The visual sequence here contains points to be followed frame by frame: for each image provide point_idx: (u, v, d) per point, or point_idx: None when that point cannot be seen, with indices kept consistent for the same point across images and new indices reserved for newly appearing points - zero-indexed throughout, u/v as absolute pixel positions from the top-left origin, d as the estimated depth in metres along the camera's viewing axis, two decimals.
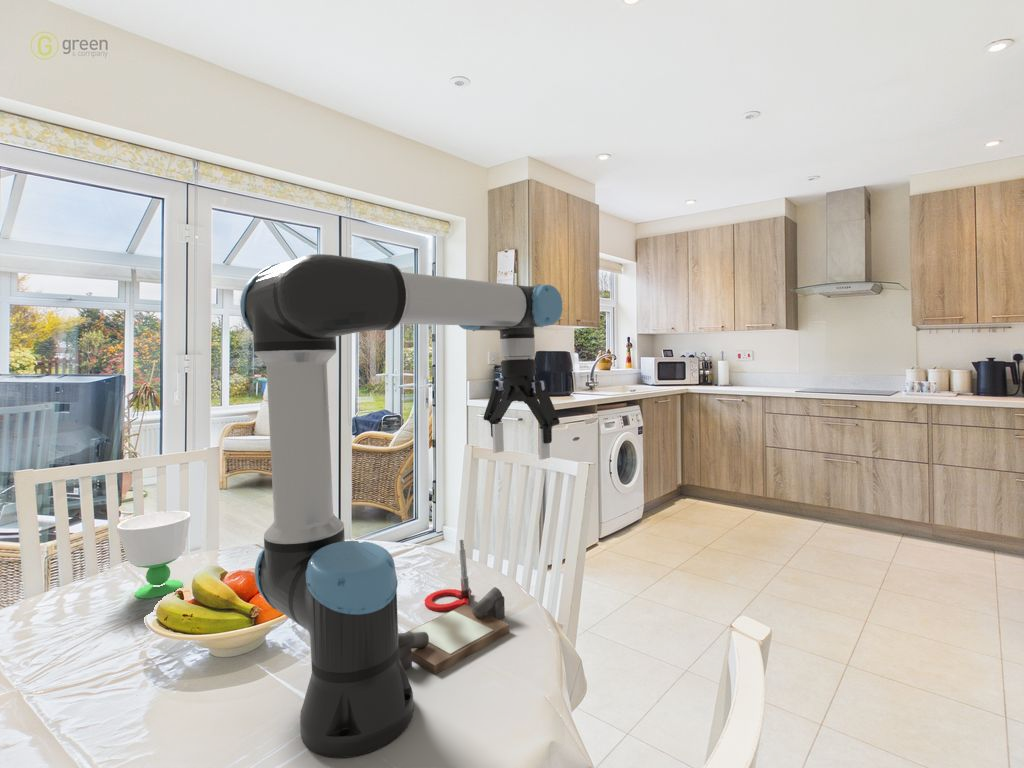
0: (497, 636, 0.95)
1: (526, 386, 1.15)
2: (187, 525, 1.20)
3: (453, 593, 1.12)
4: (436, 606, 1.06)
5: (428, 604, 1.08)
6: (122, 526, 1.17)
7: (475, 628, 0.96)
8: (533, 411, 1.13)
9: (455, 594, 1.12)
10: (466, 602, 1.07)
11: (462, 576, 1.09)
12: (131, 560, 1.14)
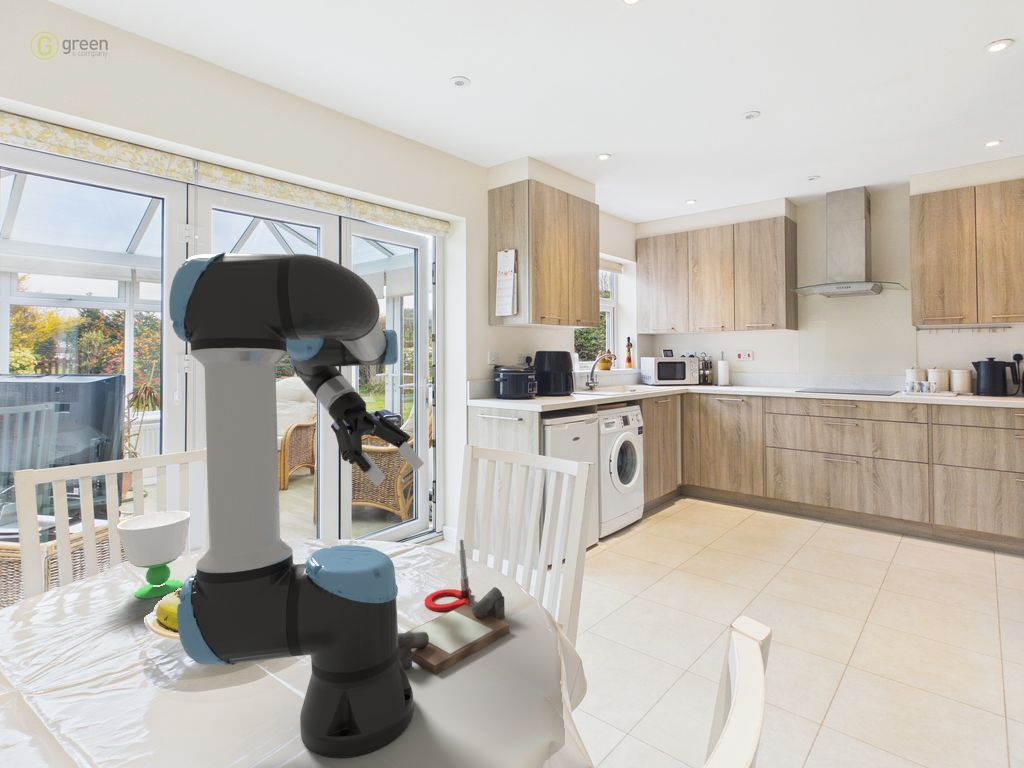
0: (497, 636, 0.95)
1: (370, 416, 1.19)
2: (187, 525, 1.20)
3: (453, 593, 1.12)
4: (436, 606, 1.06)
5: (428, 604, 1.08)
6: (122, 526, 1.17)
7: (475, 628, 0.96)
8: (390, 432, 1.20)
9: (455, 594, 1.12)
10: (466, 602, 1.07)
11: (462, 576, 1.09)
12: (131, 560, 1.14)
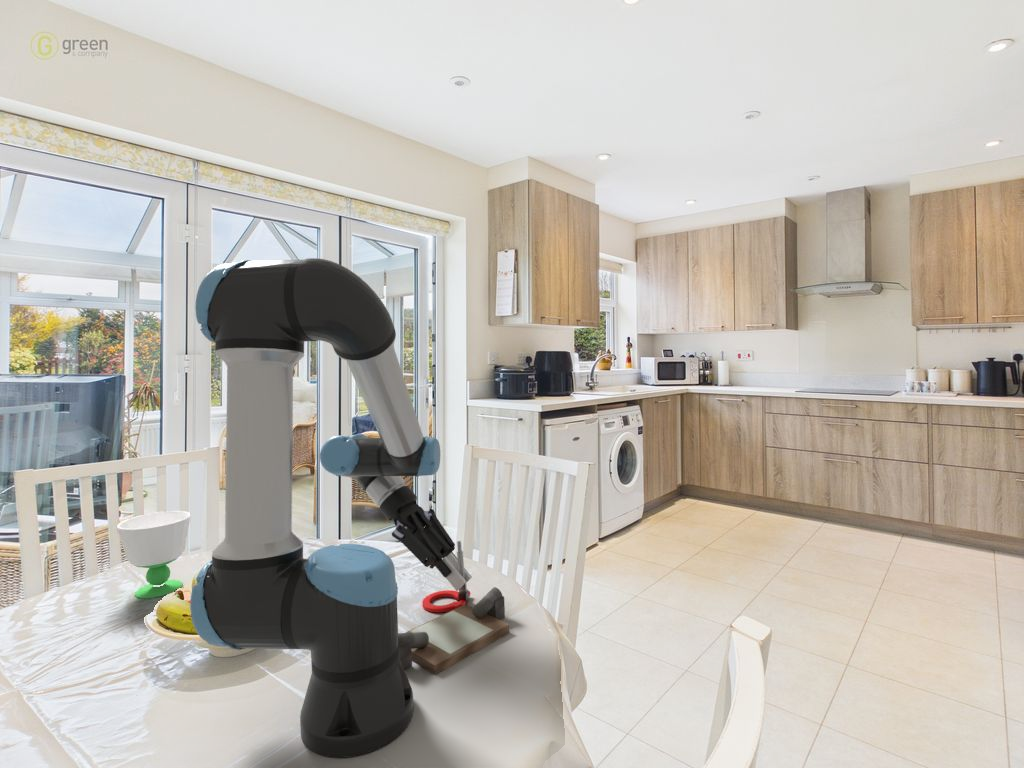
0: (497, 636, 0.95)
1: (421, 510, 1.15)
2: (187, 525, 1.20)
3: (452, 594, 1.11)
4: (432, 607, 1.06)
5: (425, 605, 1.07)
6: (122, 526, 1.17)
7: (475, 628, 0.96)
8: (437, 535, 1.12)
9: (453, 595, 1.11)
10: (463, 604, 1.06)
11: None
12: (131, 560, 1.14)
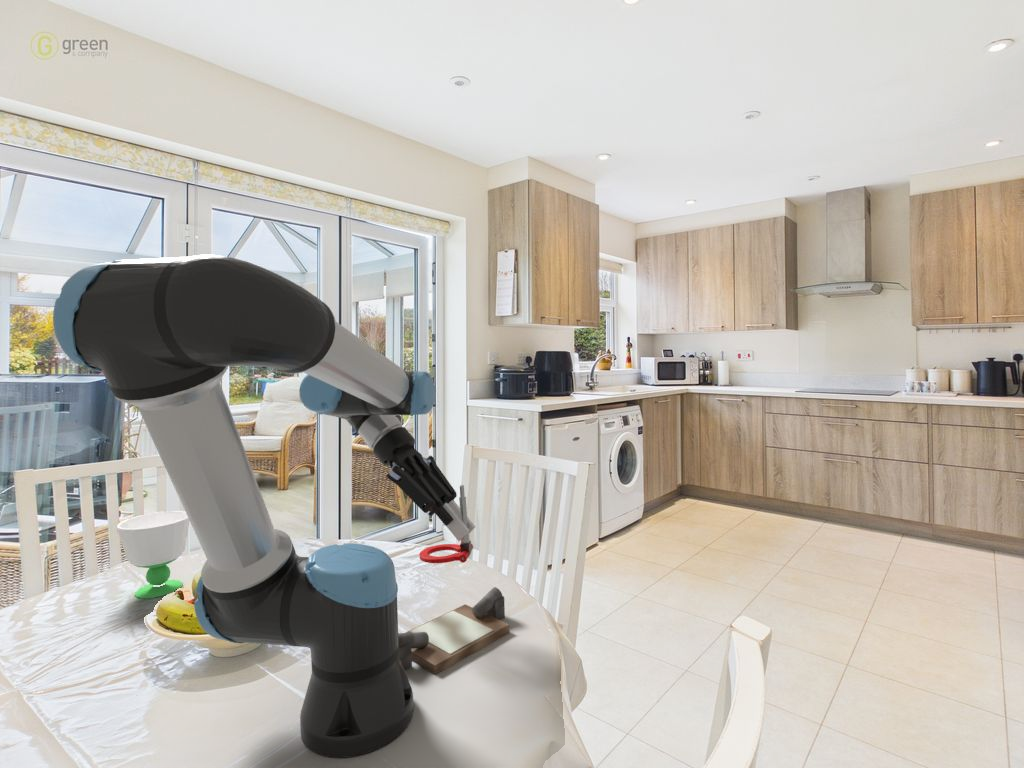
0: (497, 636, 0.95)
1: None
2: (187, 525, 1.20)
3: (452, 547, 1.00)
4: (431, 558, 0.94)
5: (423, 556, 0.95)
6: (122, 526, 1.17)
7: (475, 628, 0.96)
8: (437, 482, 1.01)
9: (454, 548, 0.99)
10: (465, 555, 0.94)
11: None
12: (131, 560, 1.14)
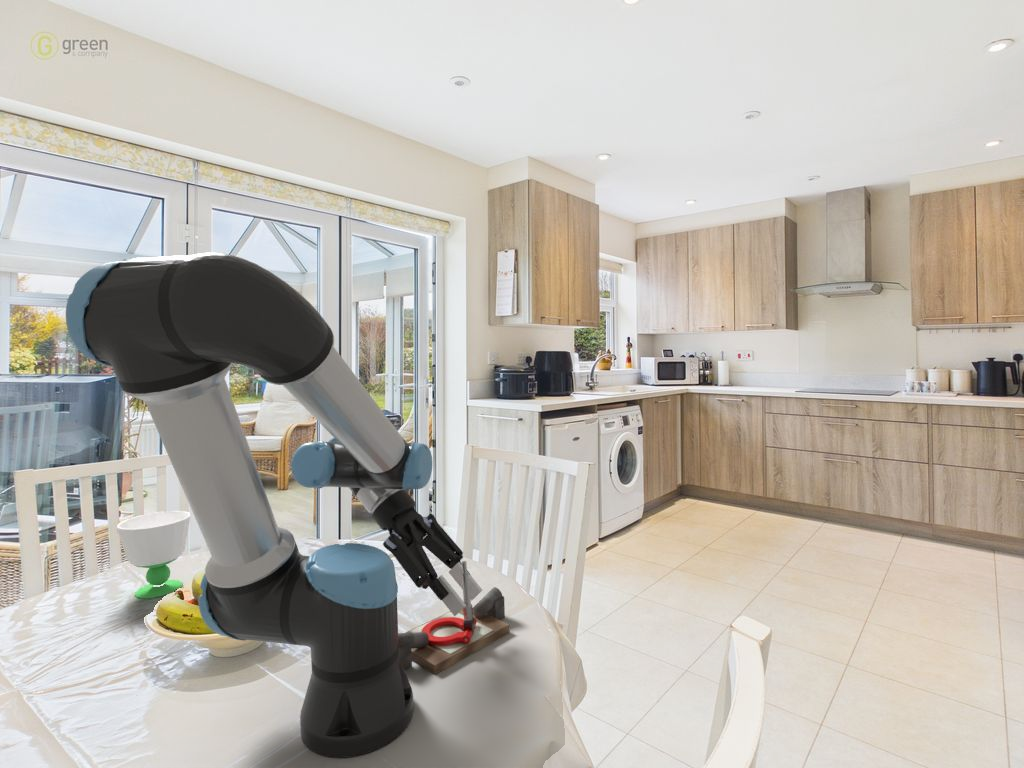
0: (497, 636, 0.95)
1: (420, 518, 1.00)
2: (187, 525, 1.20)
3: (455, 622, 0.96)
4: (433, 639, 0.91)
5: None
6: (122, 526, 1.17)
7: (475, 628, 0.96)
8: (441, 544, 0.98)
9: (457, 624, 0.96)
10: (469, 635, 0.91)
11: None
12: (131, 560, 1.14)
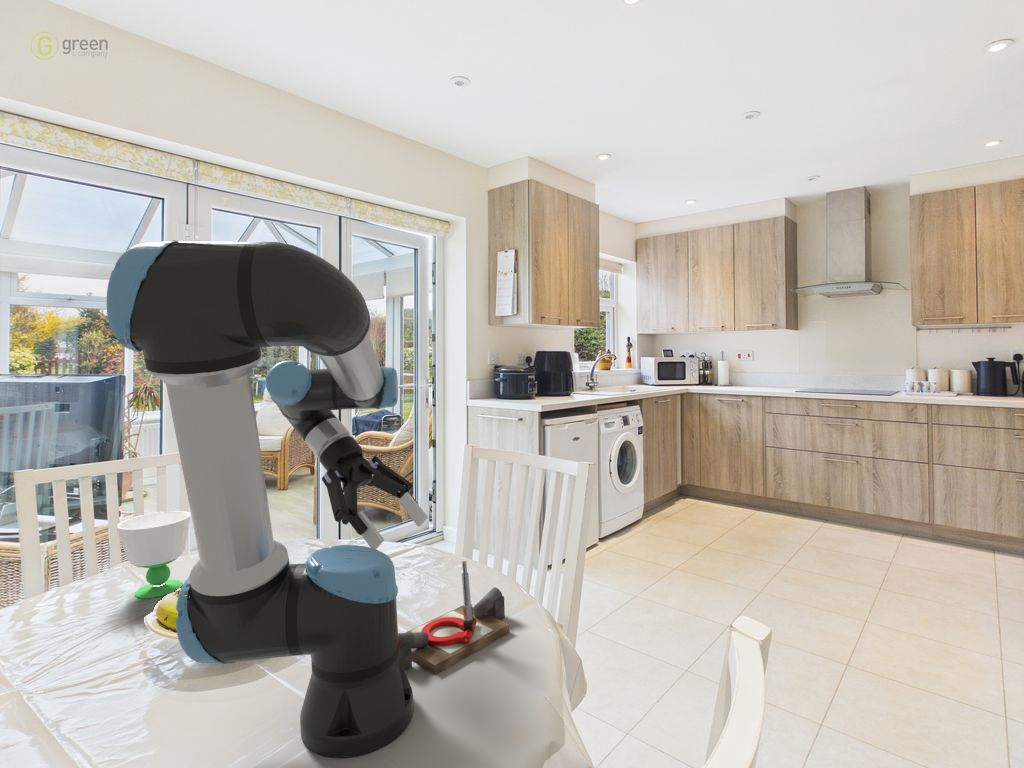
0: (497, 636, 0.95)
1: (367, 463, 1.05)
2: (187, 525, 1.20)
3: (455, 622, 0.96)
4: (433, 639, 0.91)
5: None
6: (122, 526, 1.17)
7: (475, 628, 0.96)
8: (390, 481, 1.05)
9: (457, 624, 0.96)
10: (469, 635, 0.91)
11: (465, 604, 0.93)
12: (131, 560, 1.14)
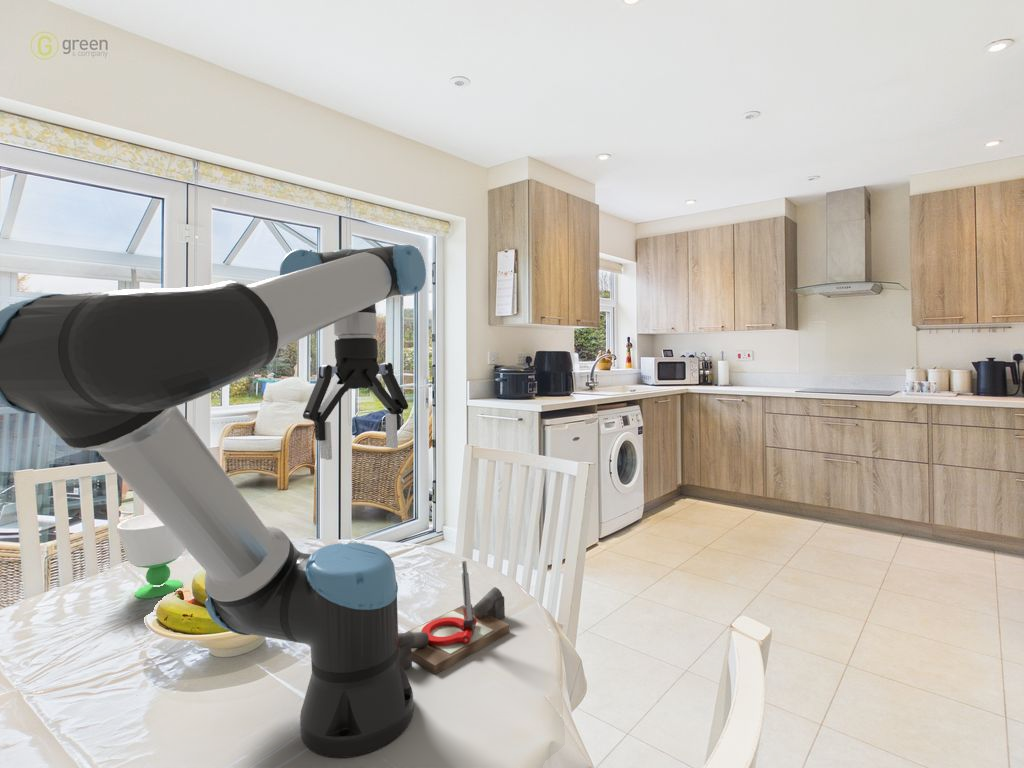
0: (497, 636, 0.95)
1: (375, 369, 1.00)
2: None
3: (455, 622, 0.96)
4: (433, 639, 0.91)
5: None
6: (122, 526, 1.17)
7: (475, 628, 0.96)
8: (385, 396, 1.02)
9: (457, 624, 0.96)
10: (469, 635, 0.91)
11: (465, 604, 0.93)
12: (131, 560, 1.14)
